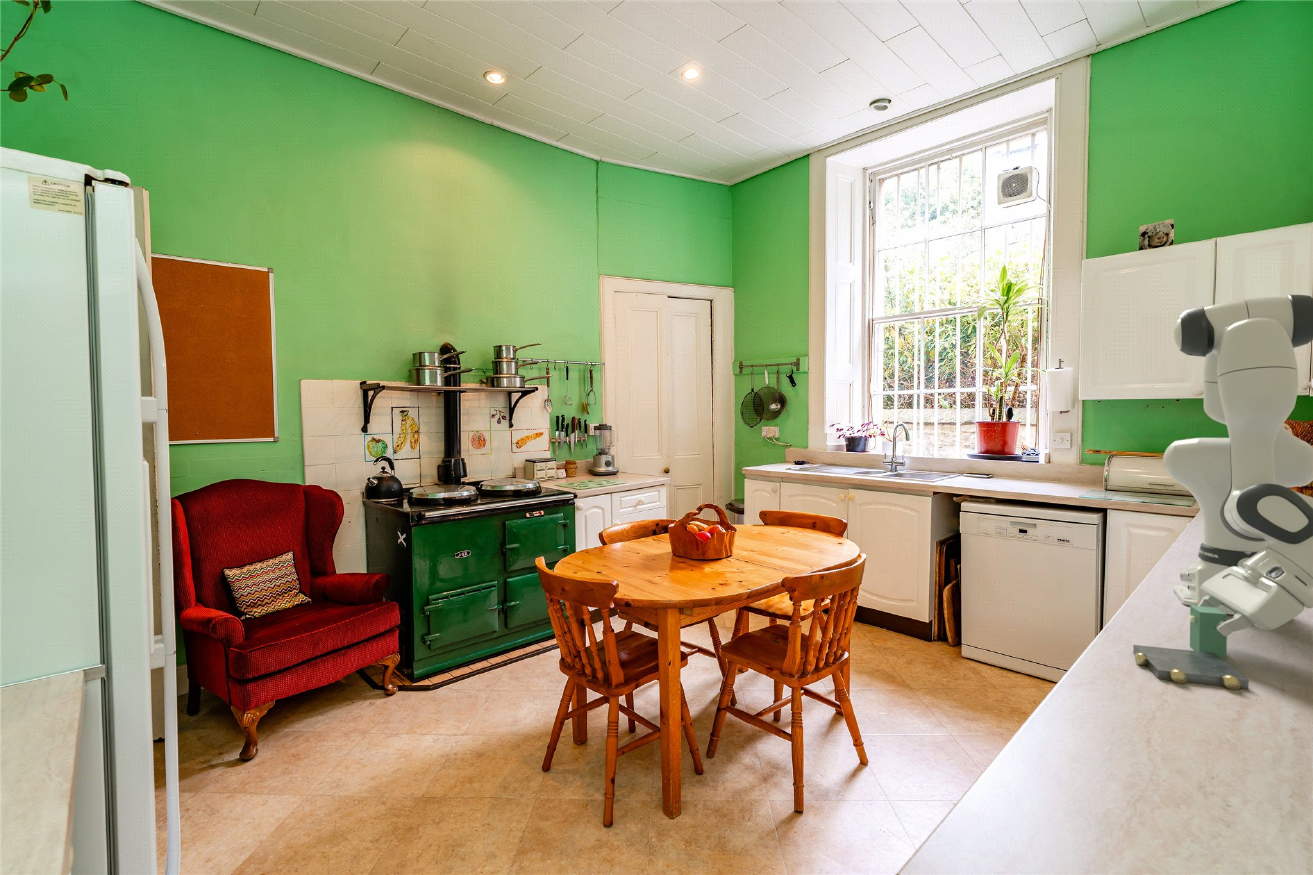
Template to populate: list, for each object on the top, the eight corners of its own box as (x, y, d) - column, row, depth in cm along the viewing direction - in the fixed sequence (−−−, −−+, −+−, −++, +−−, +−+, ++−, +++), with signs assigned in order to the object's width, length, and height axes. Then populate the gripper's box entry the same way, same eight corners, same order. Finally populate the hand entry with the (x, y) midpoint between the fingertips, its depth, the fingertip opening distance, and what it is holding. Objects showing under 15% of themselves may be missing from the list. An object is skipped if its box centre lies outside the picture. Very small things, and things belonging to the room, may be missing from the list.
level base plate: (1125, 651, 116) (1125, 641, 116) (1213, 660, 112) (1213, 649, 111) (1152, 680, 104) (1152, 668, 104) (1252, 692, 99) (1252, 679, 99)
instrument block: (1186, 646, 119) (1186, 605, 118) (1216, 649, 117) (1216, 607, 117) (1195, 653, 115) (1195, 611, 115) (1226, 656, 113) (1227, 614, 113)
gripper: (1231, 551, 122) (1169, 595, 126) (1292, 577, 103) (1217, 628, 107) (1259, 575, 121) (1196, 619, 124) (1327, 606, 102) (1250, 656, 105)
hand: (1206, 623), depth 116 cm, fingers open, 8 cm apart
